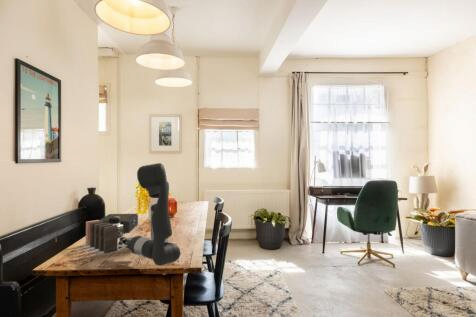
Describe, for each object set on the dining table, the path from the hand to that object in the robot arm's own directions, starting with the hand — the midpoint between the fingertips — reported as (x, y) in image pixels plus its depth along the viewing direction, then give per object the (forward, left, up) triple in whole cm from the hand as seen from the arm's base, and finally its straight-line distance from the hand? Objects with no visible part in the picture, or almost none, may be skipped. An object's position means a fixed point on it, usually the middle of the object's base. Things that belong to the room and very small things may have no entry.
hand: (121, 239), depth 137 cm
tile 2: (+10, -12, -8) cm, 17 cm away
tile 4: (+16, -19, -8) cm, 26 cm away
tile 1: (+6, -8, -8) cm, 13 cm away
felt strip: (+13, -15, -8) cm, 21 cm away
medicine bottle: (+11, -36, -8) cm, 38 cm away
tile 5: (+19, -23, -8) cm, 30 cm away
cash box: (+14, -60, -9) cm, 62 cm away
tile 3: (+13, -15, -8) cm, 21 cm away
